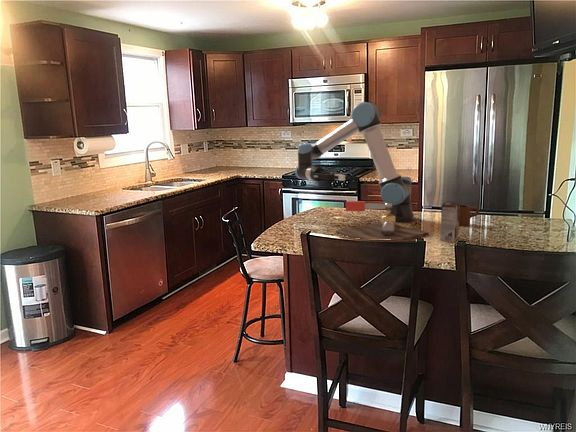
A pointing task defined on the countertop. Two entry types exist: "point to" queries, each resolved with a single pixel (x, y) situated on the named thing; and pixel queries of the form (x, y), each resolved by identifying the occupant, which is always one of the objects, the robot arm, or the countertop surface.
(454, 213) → the coffee box
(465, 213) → the mug
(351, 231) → the valve board
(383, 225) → the valve pipe
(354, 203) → the valve lever
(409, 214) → the robot arm
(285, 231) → the countertop surface
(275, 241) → the countertop surface
